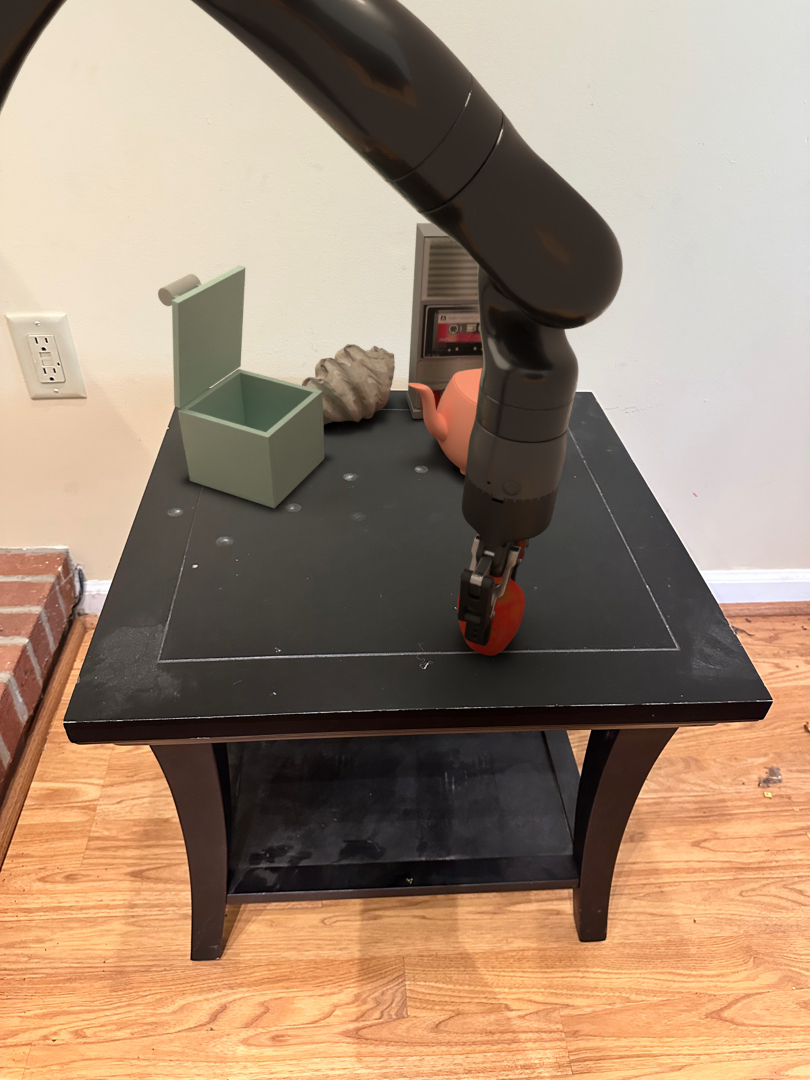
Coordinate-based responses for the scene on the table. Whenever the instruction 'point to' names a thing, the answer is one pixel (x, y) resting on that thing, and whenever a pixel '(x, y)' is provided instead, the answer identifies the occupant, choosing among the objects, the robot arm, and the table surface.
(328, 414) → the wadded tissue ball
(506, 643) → the apple
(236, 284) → the lid
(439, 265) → the cassette tape recorder
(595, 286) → the robot arm
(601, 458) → the table surface
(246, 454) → the pale green hollow box
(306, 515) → the table surface
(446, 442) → the teapot
